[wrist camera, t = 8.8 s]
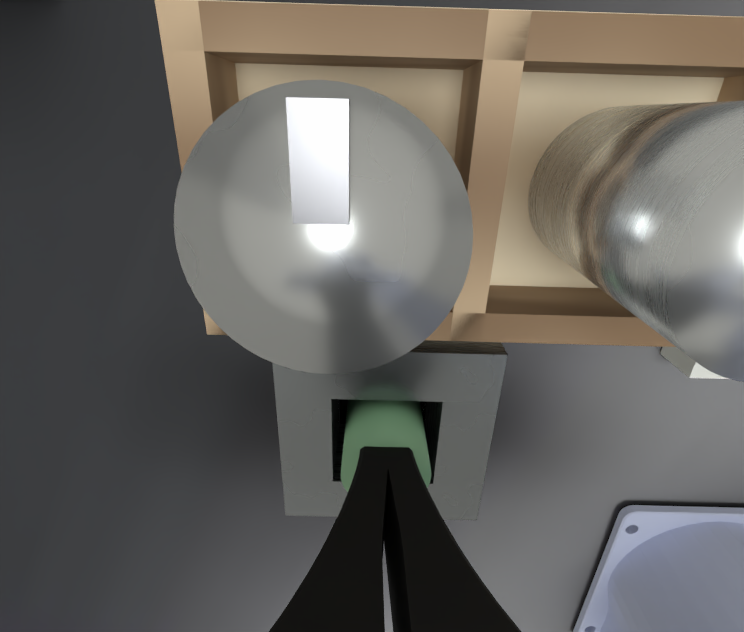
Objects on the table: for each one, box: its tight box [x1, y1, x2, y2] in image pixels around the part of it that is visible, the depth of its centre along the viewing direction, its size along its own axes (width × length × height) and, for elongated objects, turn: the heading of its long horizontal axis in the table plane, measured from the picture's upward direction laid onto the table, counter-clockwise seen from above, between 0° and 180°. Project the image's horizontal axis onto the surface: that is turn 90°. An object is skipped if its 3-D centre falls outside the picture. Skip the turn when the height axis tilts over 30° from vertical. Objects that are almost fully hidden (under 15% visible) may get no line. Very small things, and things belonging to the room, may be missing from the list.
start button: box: [341, 399, 431, 492], centre depth 13 cm, size 2×2×3 cm
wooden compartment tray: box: [155, 0, 744, 347], centre depth 11 cm, size 8×14×3 cm, turn 89°
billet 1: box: [174, 80, 473, 374], centre depth 8 cm, size 4×4×6 cm
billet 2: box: [528, 101, 744, 382], centre depth 8 cm, size 4×4×6 cm
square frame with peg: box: [272, 340, 508, 520], centre depth 14 cm, size 6×6×3 cm
